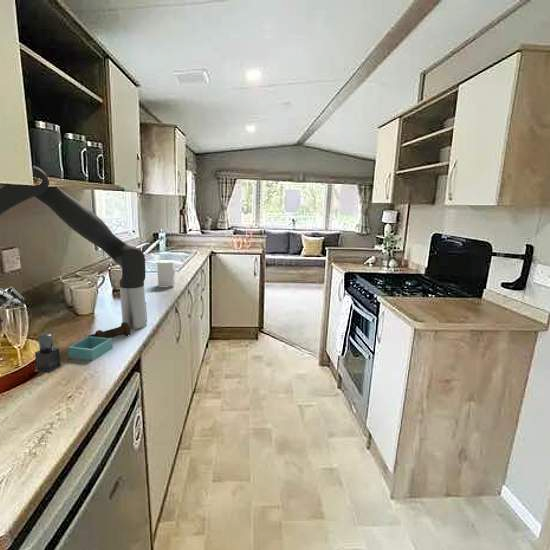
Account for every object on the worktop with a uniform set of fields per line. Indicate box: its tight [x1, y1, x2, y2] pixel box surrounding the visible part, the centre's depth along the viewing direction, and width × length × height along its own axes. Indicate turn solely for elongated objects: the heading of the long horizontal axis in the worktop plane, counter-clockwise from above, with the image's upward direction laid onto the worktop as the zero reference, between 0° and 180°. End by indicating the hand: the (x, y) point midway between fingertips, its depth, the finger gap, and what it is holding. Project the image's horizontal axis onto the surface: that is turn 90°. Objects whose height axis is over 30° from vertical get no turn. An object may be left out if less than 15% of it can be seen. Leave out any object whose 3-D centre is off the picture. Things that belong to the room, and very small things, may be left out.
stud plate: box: [34, 361, 68, 374], centre depth 113 cm, size 7×7×5 cm
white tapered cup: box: [156, 259, 176, 288], centre depth 220 cm, size 9×9×15 cm
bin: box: [67, 335, 114, 361], centre depth 124 cm, size 10×9×5 cm
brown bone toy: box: [87, 322, 132, 339], centre depth 138 cm, size 6×5×15 cm
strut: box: [34, 332, 61, 371], centre depth 112 cm, size 4×4×10 cm
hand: (13, 318), depth 113 cm, fingers open, 8 cm apart
